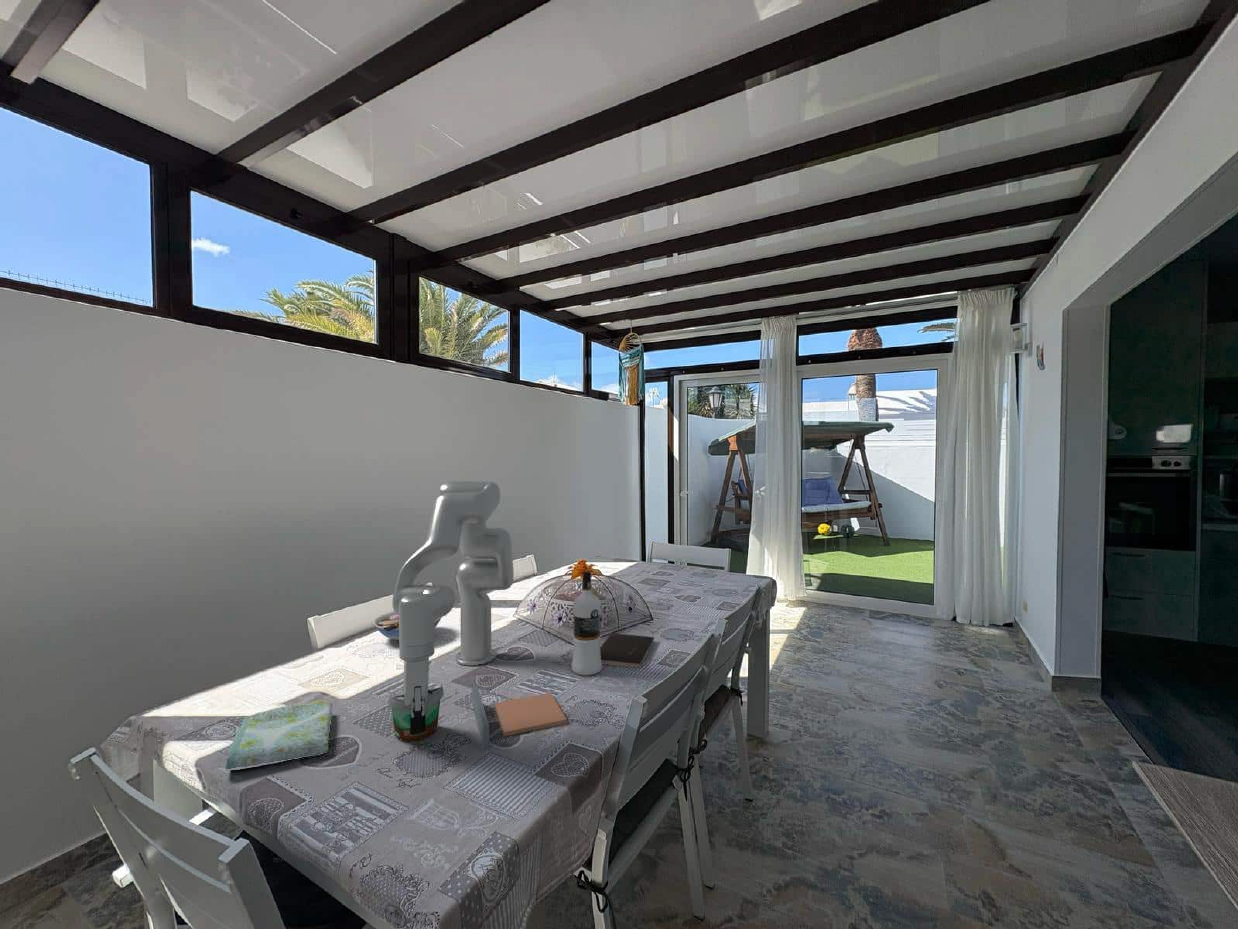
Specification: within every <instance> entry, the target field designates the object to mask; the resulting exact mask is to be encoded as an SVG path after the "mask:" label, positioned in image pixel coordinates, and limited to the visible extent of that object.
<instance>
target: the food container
mask: <svg viewBox="0 0 1238 929" xmlns="http://www.w3.org/2000/svg"><path fill="white" fill-rule="evenodd" d="M444 695H445V690H444V687H443V685H442V683H441V684H440V687H436V688H432V689H431V688H430V689H428V697H427V701H426V702H425V701H424V714H425V721H426V731H425V732H423V733H417V734H410V716H411V704H410V705H407V706H406V705H405V704H404V694H402V695H401V694H400V695H396V696H393V695H392V693H390V694H389V696H388V699H387V705H388V706H389V707H390V708H391V712H392V713H391V716H392V723H393V729H394V732H393V733H394V736H396V737H397V738H398V739H401V740H403V741H407V742H406V743H414V741H416V742H420V741H422V739H423V740H426V739H428V738H430V737H431V736H433V735H434V734H435V733H436V732H437V730H438V726H439V716H440V707H441V699H443V698H444ZM421 701H422V698H421ZM413 702H415V699H413ZM421 707H422V704H421ZM414 708H415V705H414ZM396 737H395V738H396ZM397 738H396V739H397ZM398 739H397V740H398ZM419 740H420V741H419ZM403 741H402V742H403ZM411 741H413V742H411Z"/></svg>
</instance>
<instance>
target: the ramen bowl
mask: <svg viewBox="0 0 1238 929" xmlns="http://www.w3.org/2000/svg"><path fill="white" fill-rule="evenodd" d="M442 618H443V617H441V618H438V619H436V620H434V629H436V627H437V626H438V625H439V623H440V622H441V619H442ZM373 625H374V627H375V629H377V631H378V632H379V633H380V634H381V635H382V636H384V637H385V638H387V639H390V640H396V641H399V615H397V614H396V613H395V612H394V610H393V611H389V612H387V613H384V614H381V615H379V616H378V617H375V618H374V620H373Z"/></svg>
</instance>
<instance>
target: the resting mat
mask: <svg viewBox="0 0 1238 929" xmlns="http://www.w3.org/2000/svg"><path fill="white" fill-rule="evenodd" d="M493 707H494V710H495V713H496V716H497V719H498V722H499V725H500V728H501V730H502V734H503V737H508V736H513V735H518V734H522V732H523V733H528V732H532V731H536V730H537V731H538V730H541V729H547V728H552V727H556V726H557V727H558V726H561V725H566V724H567V723H568V722H567V718H566V716H565V714H564V712H563V711H562V708H561V707H560V706H559V704H558V702H557V701H556V699H555V697H554V696H553V694H552V692H548V693H543V694H542V693H541V694H537V695H530V696H525V697H520V698H515V699H509V700H503V701H498V702H494V703H493Z"/></svg>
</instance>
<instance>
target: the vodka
mask: <svg viewBox="0 0 1238 929" xmlns="http://www.w3.org/2000/svg"><path fill="white" fill-rule="evenodd" d="M601 604H602V603H601V600H600V598H599V597H598V596H596V595H595V594H593V592H592V571H590V570H589V571H587V570H586V571H583V572H582V593H581V594H579V595H578V596H576V597H575V598H574V600H573V603H572V610H573V611H572V614H573V637H572V640H573V642H572V643H573V649H572V650H573V652H572V659H571V660H572V661H571V670H572V672H573V673H574V674H577V675H578V676H579V675H580V676H593V675H596V674H597V673H599V672H601V670H602V668H603V664H602V660H601V653H600V647H601V639H602V637H601Z"/></svg>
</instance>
